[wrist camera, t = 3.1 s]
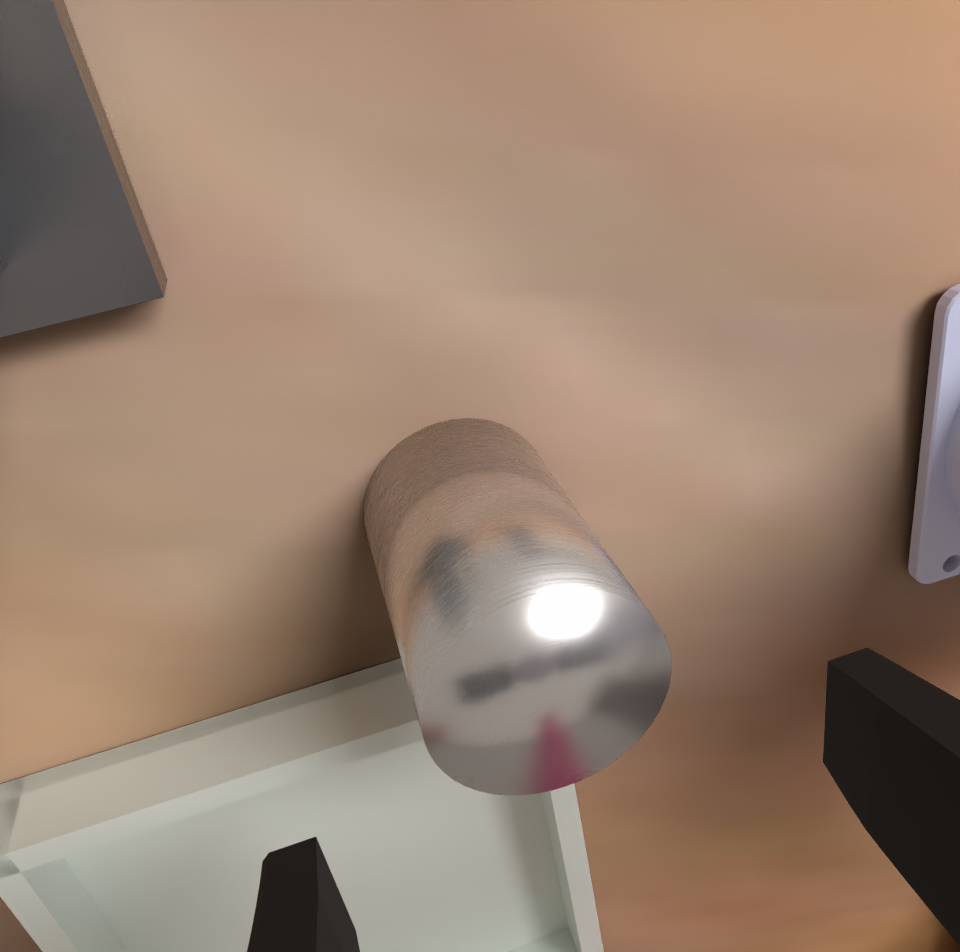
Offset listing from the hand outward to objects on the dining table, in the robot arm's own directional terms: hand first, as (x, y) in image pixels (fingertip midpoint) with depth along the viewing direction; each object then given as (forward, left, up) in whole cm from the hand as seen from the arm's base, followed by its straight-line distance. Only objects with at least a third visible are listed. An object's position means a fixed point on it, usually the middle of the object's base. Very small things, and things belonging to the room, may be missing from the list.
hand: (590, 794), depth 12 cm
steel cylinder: (0, 0, -8) cm, 8 cm away
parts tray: (+5, +10, -8) cm, 13 cm away
